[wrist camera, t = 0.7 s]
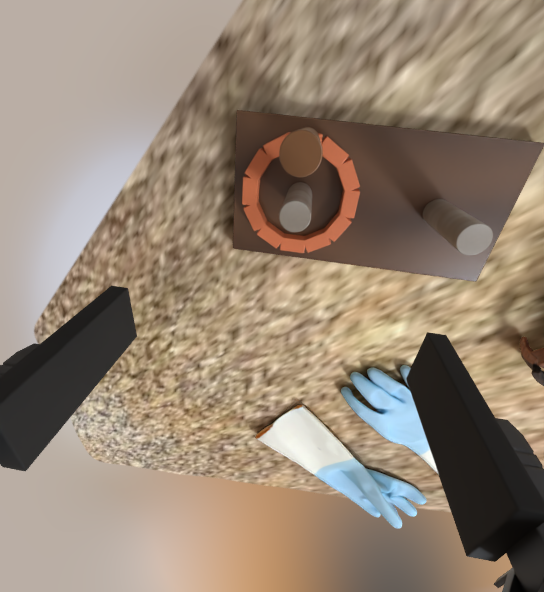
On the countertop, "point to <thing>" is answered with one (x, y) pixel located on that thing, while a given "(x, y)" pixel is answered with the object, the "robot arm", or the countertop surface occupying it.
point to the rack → (389, 194)
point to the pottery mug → (533, 359)
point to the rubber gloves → (339, 461)
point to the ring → (300, 163)
